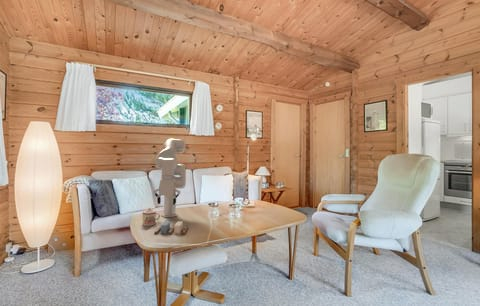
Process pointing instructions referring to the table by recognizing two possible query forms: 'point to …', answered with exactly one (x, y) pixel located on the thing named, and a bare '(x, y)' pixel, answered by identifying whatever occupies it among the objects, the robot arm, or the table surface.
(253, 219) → the table surface
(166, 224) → the blue stub
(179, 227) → the ivory stub
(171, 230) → the slot rack
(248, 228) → the table surface
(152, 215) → the teacup with lid
